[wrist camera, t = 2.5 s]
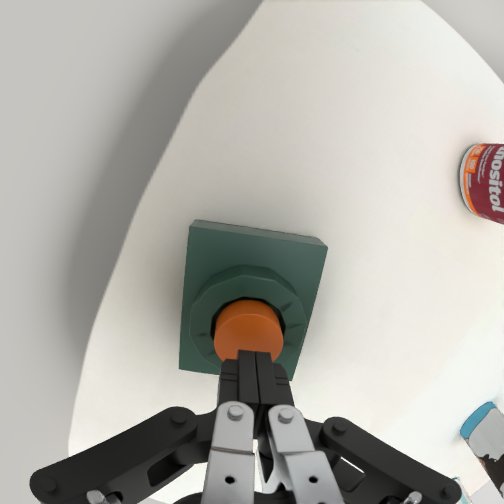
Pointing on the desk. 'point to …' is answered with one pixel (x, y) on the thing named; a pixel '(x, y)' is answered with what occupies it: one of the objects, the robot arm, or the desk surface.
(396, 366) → the desk surface
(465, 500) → the can
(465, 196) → the pill bottle
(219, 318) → the button
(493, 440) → the cup
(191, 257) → the green button base
